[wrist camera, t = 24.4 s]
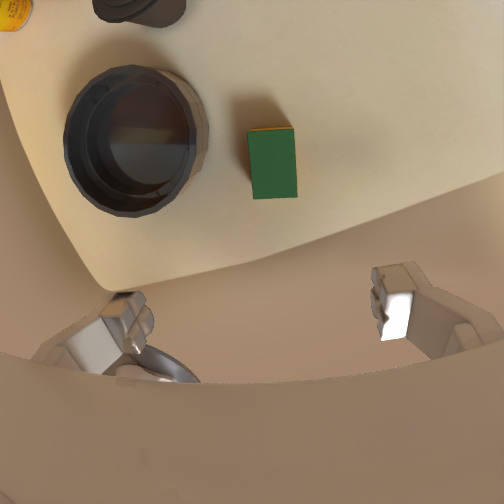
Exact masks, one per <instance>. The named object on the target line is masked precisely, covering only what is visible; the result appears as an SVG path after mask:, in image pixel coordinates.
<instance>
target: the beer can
mask: <svg viewBox="0 0 504 504" xmlns="http://www.w3.org/2000/svg"><path fill="white" fill-rule="evenodd" d="M31 10H32V4H31V2H30V0H0V31H3V32H14V31H16V30H17V29H19V28H21V27H22V26H23V25H24V24H25V23H26V21H27V20H28V18H29V16H30V13H31Z"/></svg>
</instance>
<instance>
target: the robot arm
mask: <svg viewBox="0 0 504 504" xmlns="http://www.w3.org/2000/svg"><path fill="white" fill-rule="evenodd" d="M371 279H372V282H373V284H374V287H373V288H372V289H371V308H372V312H373V315H374V317H375V318H376V319H378V322H377V328H378V330H379V334H380V337H381V340H387V339H394V338H401V337H406V338H407V339H408V340H409V341H410V342H412V343H413V344H414V345H415V346H416V347H417V348H419V349H420V350H421V351H422V352H423V353H425V354H426V355H427V356H428V357H429V358H430V359H431V360H429V361H426V362H421V363H416V364H412V365H408V366H402V367H397V368H393V369H387V370H382V371H376V372H370V373H364V374H357V375H350V376H343V377H335V378H326V379H316V380H305V381H291V382H276V383H275V382H274V383H246V384H210V383H182V382H177V381H176V380H175V379H174V378H173V377H172V376H169V375H165V374H159V373H156V372H153V371H151V370H149V369H146V368H144V367H140V366H136V365H129V364H127V365H121V366H119V367H118V368H117V369H116V372H115V376H108V375H101V374H102V373H103V372H104V371H105V370H106V369H107V368H108V367H109V366H110V365H112V364H113V363H114V362H115V361H116V360H117V359H118V358H119V357H120V356H121V355H122V353H128V354H141V352H142V350H143V348H144V346H145V344H146V342H147V341H146V338H145V337H147V336H148V335H149V334H150V333H151V332H152V330H153V328H154V317H153V314H152V312H151V310H150V308H148V307H147V306H146V305H145V303H146V298H145V296H144V294H143V293H142V292H140V291H120V292H108V293H106V294H105V295H104V297H103V298H102V299H101V300H100V302H99V303H98V304H97V305H96V307H95V308H94V309H93V311H92V312H91V313H90V315H89V316H87V317H84V318H82V319H80V320H79V321H77V322H76V323H74V324H72V325H71V326H69V327H68V328H66V329H64V330H63V331H61V332H60V333H58V334H56V335H55V336H53V337H52V338H50V339H49V340H47V341H45V342H44V343H43V344H42V345H41V346H40V348H39V349H38V350H37V352H36V353H35V355H34V356H33V357H32V358H31V360H27V359H23V358H20V357H16V356H12V355H9V354H6V353H2V352H0V504H504V331H503V329H502V328H501V326H500V324H499V323H498V321H497V320H496V318H495V317H494V316H493V314H491V313H489V312H487V311H485V310H483V309H481V308H479V307H477V306H475V305H473V304H471V303H469V302H467V301H465V300H463V299H461V298H459V297H457V296H455V295H453V294H451V293H449V292H447V291H445V290H443V289H441V288H439V287H433V286H432V284H431V283H430V281H429V280H428V278H427V277H426V275H425V274H424V272H423V271H422V270H421V268H420V267H419V265H418V264H417V263H416V262H415V261H410V262H404V263H400V264H394V265H387V266H381V267H375V268H372V276H371Z"/></svg>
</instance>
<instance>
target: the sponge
mask: <svg viewBox="0 0 504 504" xmlns="http://www.w3.org/2000/svg"><path fill="white" fill-rule="evenodd" d="M247 138H248V148H249V159H250V169H251V179H252V190H253V199H272V198H296V197H298V196H297V174H296V155H295V139H294V129H293V127H276V128H260V129H251V130H249V131H248V132H247Z"/></svg>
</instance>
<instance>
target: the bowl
mask: <svg viewBox="0 0 504 504" xmlns="http://www.w3.org/2000/svg"><path fill="white" fill-rule="evenodd" d="M208 134H209V124H208V121H207V117H206V114H205V111H204V107H203V104H202V102H201V100H200V99H199V98H198V96H197V95H196V93H195V92H194V91H193V89H192V88H191V86H190V85H189V84H187V83H186V82H184V81H183V80H182V79H180V78H179V77H177V76H176V75H174V74H173V73H170V72H166V71H162V70H157V69H153V68H148V67H143V66H138V65H127V66H121V67H115V68H111V69H109V70H107V71H105V72H104V73H102V74H100V75H98V76H97V77H95V78H93V79H92V80H90V82H89V83H88V84H87V85H86V86H85V87H84V88H83V89H82V90H81V91H80V93H79V94H78V95H77V96H76V98H75V100H74V102H73V104H72V106H71V108H70V110H69V113H68V115H67V118H66V123H65V128H64V134H63V145H64V158H65V162H66V165H67V168H68V171H69V174H70V177H71V179H72V181H73V182H74V184H75V185H76V187H77V188H78V189H79V191H80V192H81V194H82V195H83V197H85V198H86V199H87V200H88V201H89V202H91V203H92V204H93V205H94V206H95V207H97V208H98V209H100V210H102V211H105V212H107V213H109V214H112V215H114V216H117V217H130V218H138V217H141V216H145V215H148V214H152V213H155V212H157V211H159V210H160V209H162V208H163V207H164V206H166V205H167V204H169V203H170V202H171V201H173V200H174V199H175V198H176V197H177V196H178V195H179V194H180V193H182V192H183V191H184V190H185V189H186V188H187V187H188V186H189V185H190V183H191V182H192V181H193V179H194V178H195V177H196V175H197V174H198V173H199V171H200V169H201V167H202V164H203V161H204V158H205V156H206V153H207V150H208Z"/></svg>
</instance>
